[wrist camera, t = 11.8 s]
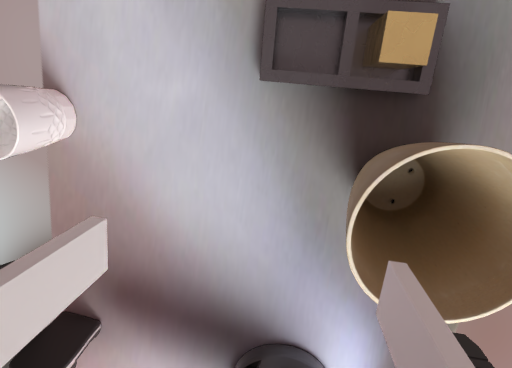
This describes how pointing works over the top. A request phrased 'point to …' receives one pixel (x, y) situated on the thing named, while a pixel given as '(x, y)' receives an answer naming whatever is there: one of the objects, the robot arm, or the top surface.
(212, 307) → the top surface
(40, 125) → the white cup
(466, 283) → the plant pot
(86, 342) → the battery charger
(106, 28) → the top surface
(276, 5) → the divided tray
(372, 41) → the brass block
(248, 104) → the top surface
